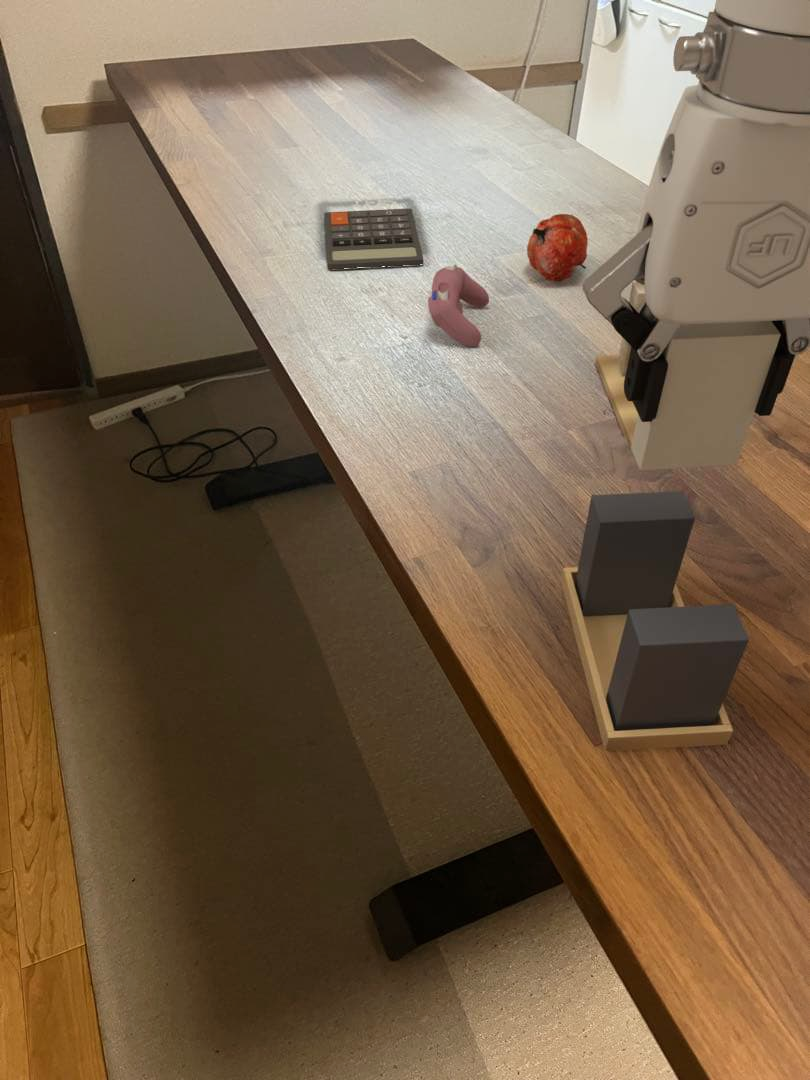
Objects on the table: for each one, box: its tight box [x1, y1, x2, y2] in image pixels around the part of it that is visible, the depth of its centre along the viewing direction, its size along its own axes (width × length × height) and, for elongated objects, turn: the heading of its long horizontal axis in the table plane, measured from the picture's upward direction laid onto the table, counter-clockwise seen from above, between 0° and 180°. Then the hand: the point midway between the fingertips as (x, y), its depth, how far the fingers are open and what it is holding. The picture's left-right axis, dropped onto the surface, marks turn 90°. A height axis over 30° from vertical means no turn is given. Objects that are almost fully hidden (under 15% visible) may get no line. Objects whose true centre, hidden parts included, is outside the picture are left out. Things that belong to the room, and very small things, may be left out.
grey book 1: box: [575, 490, 696, 617], centre depth 61 cm, size 3×6×10 cm, turn 93°
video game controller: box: [427, 264, 490, 347], centre depth 93 cm, size 10×5×7 cm, turn 170°
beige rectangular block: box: [630, 321, 781, 471], centre depth 50 cm, size 2×6×9 cm, turn 94°
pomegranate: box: [526, 213, 589, 283], centre depth 101 cm, size 7×7×10 cm
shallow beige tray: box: [560, 566, 734, 752], centre depth 60 cm, size 15×8×2 cm, turn 3°
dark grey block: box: [606, 603, 750, 731], centre depth 54 cm, size 3×6×10 cm, turn 93°
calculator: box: [323, 208, 424, 271], centre depth 109 cm, size 12×1×15 cm
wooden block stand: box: [594, 281, 743, 464], centre depth 79 cm, size 17×9×10 cm, turn 3°
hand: (698, 402), depth 50 cm, fingers closed on beige rectangular block, 6 cm apart
